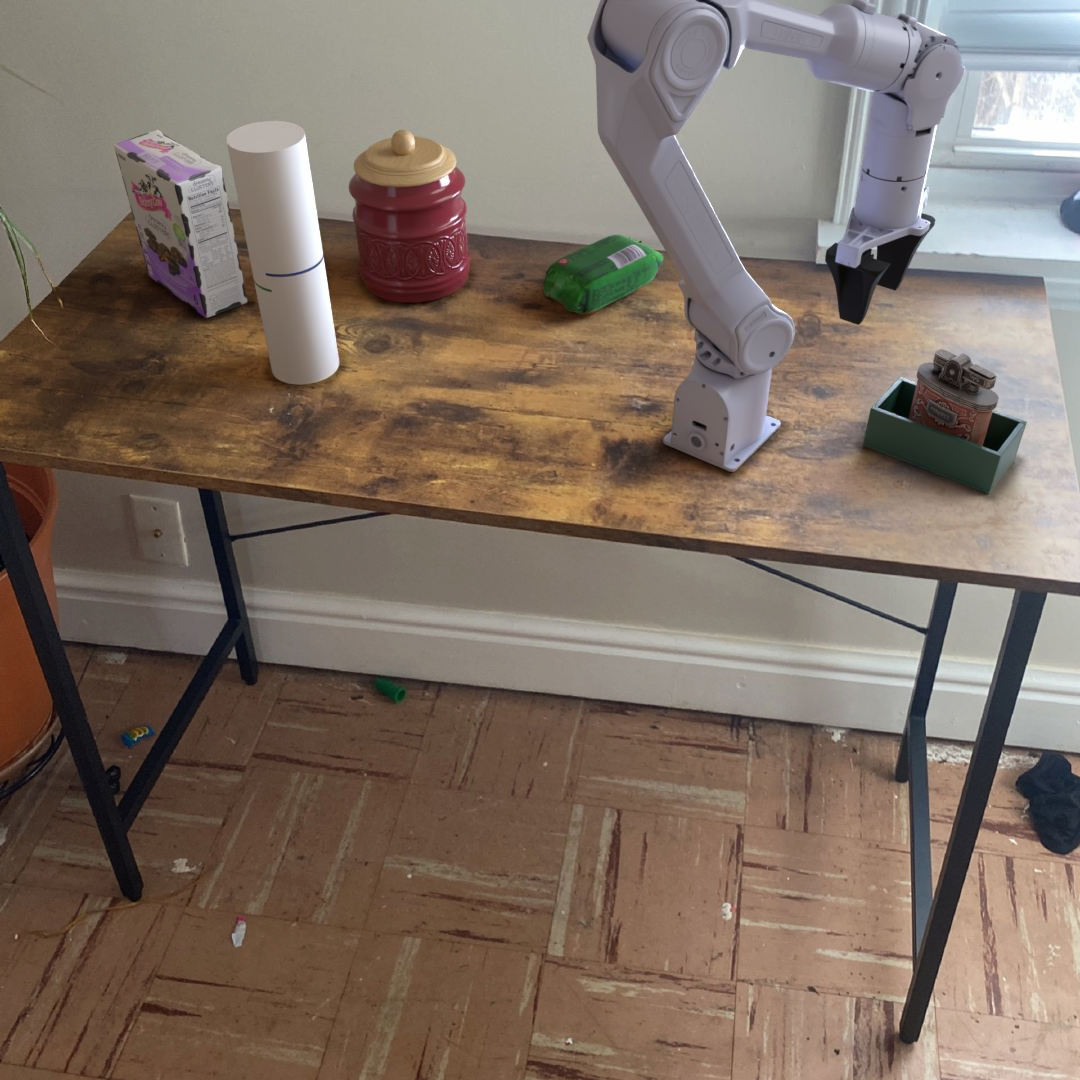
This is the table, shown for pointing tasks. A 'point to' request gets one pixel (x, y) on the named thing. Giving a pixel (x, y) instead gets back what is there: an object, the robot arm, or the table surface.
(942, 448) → the green open box
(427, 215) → the kitchen canister
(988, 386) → the lighter
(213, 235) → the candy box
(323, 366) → the cylindrical container
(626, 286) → the snack package
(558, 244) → the table surface
